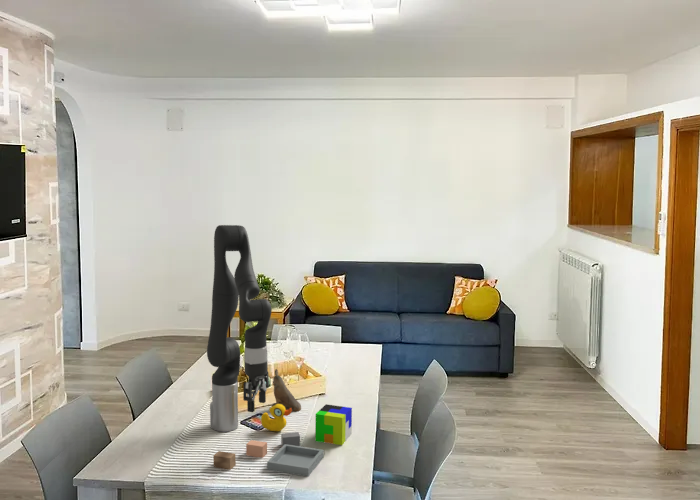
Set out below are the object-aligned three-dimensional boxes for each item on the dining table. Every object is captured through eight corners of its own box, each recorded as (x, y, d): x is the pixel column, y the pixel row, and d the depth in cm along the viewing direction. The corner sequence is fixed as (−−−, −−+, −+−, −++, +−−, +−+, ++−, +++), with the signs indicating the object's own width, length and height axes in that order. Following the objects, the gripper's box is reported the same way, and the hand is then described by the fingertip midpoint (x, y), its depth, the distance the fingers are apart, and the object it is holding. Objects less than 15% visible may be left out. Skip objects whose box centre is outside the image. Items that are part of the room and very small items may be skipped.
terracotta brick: (246, 455, 210) (246, 444, 210) (251, 451, 213) (250, 440, 213) (262, 458, 208) (262, 446, 208) (267, 453, 212) (267, 442, 211)
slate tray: (267, 469, 200) (267, 461, 200) (284, 451, 213) (284, 444, 213) (308, 476, 196) (308, 468, 195) (323, 457, 209) (323, 449, 209)
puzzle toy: (351, 434, 228) (351, 407, 227) (342, 445, 218) (342, 417, 217) (325, 430, 231) (325, 404, 230) (315, 441, 222) (315, 413, 220)
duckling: (293, 428, 232) (293, 402, 231) (290, 434, 227) (290, 407, 226) (263, 426, 234) (263, 400, 233) (259, 432, 228) (259, 406, 227)
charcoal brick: (282, 448, 215) (282, 437, 215) (281, 444, 219) (281, 433, 218) (299, 447, 217) (300, 436, 216) (298, 442, 220) (298, 432, 220)
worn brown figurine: (271, 416, 250) (261, 373, 248) (274, 411, 256) (265, 368, 254) (299, 412, 248) (290, 368, 246) (302, 407, 254) (293, 364, 252)
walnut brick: (213, 467, 201) (213, 455, 201) (219, 462, 205) (218, 451, 204) (230, 470, 200) (230, 458, 199) (235, 465, 203) (235, 453, 202)
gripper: (255, 352, 215) (255, 398, 217) (235, 364, 201) (236, 413, 203) (275, 354, 213) (275, 401, 215) (256, 366, 199) (257, 416, 201)
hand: (256, 407), depth 209 cm, fingers open, 8 cm apart
